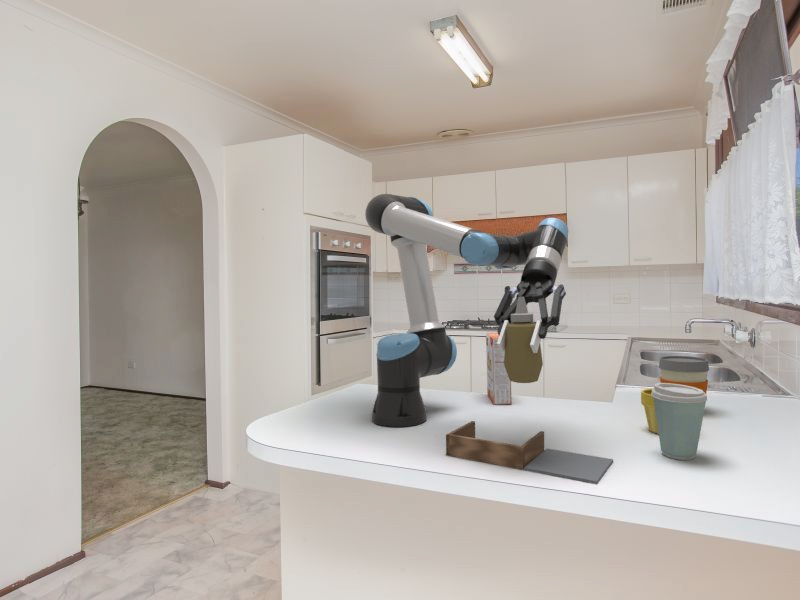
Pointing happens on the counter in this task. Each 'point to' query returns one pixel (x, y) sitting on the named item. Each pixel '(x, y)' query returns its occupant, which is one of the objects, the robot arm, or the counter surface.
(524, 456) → the walnut nook
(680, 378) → the reusable coffee cup
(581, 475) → the slate mat
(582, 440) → the counter surface
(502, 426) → the counter surface
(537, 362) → the squeeze bottle
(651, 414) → the plant pot
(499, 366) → the cracker box
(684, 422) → the disposable coffee cup
